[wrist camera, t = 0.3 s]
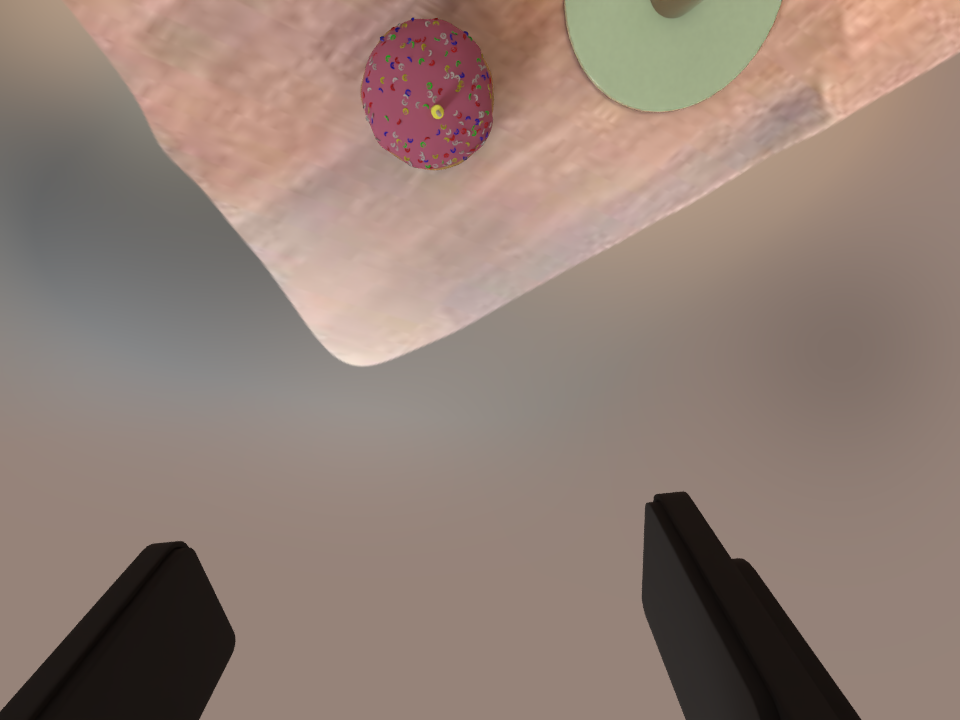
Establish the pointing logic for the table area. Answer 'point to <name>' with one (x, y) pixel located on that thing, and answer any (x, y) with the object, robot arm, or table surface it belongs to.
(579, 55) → the lid
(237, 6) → the table surface
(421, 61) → the sprinkled cake with candle
